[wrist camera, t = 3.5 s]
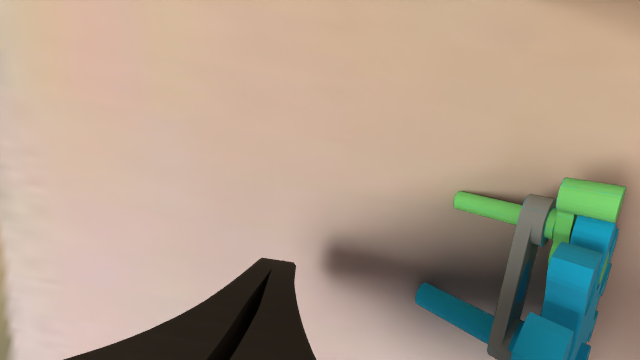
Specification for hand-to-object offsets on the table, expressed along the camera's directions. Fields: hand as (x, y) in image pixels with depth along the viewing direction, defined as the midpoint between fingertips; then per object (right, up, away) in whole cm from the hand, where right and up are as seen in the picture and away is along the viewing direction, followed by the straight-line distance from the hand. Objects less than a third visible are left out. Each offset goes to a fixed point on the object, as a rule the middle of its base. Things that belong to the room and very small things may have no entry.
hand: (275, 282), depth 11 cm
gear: (+10, -1, +2) cm, 10 cm away
